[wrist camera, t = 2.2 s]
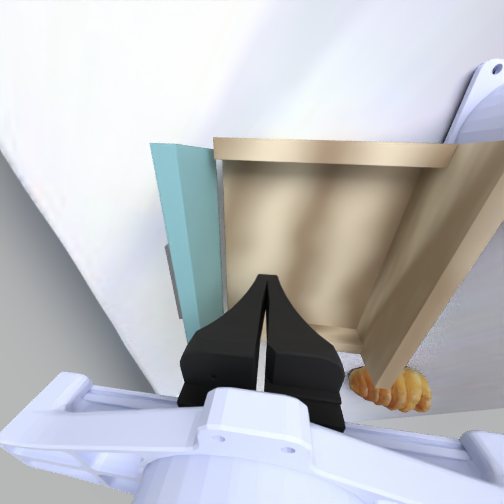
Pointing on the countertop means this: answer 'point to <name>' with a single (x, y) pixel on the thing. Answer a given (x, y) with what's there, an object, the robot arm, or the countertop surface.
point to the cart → (360, 233)
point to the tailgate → (191, 230)
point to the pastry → (394, 390)
